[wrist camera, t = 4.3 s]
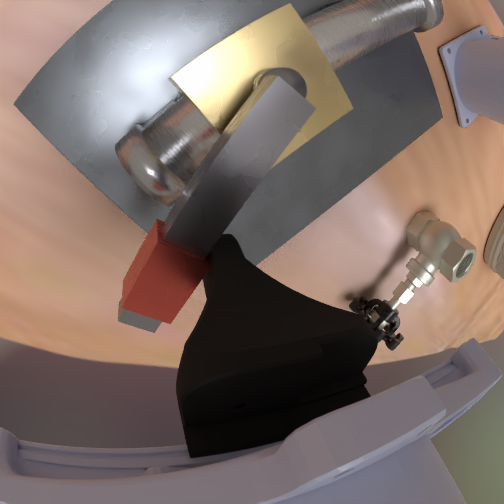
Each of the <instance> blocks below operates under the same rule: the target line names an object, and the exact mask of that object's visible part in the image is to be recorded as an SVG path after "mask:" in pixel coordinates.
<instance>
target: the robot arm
mask: <svg viewBox="0 0 504 504" xmlns="http://www.w3.org/2000/svg"><path fill="white" fill-rule="evenodd" d="M439 52H440V55H441V58H442V61H443V64H444V67H445V70H446V74H447V77H448V80H449V84H450V87H451V91H452V95H453V98H454V102H455V106H456V111H457V115H458V120H459V124H460V126H461V127H463V128H465V127H467V126H468V125H469V124H470V123H471V122H472V121H473V120H474V119H475V118H476V117H477V116H478V115H481V116H484V117H487V118H489V119H492V120H494V121H497V122H499V123H501V124H504V38H503V37H498V36H493V35H488V32H487V29H486V27H485V26H482V25H481V26H479V27H477V28H475V29H473V30H471V31H469V32H467V33H465V34H463V35H461V36H460V37H458V38H456V39H454V40H452V41H450V42H449V43H447V44H445V45H443V46H442V47H440V50H439ZM208 255H209V258H210V262H211V265H212V266H211V268H210V269H209V270H208V272H207V273H206V274H205V276H204V277H203V282H204V288H205V293H206V298H207V301H206V304H205V306H204V309H203V311H202V313H201V315H200V317H199V320H198V322H197V324H196V326H195V328H194V329H193V331H192V333H191V334H190V336H189V338H188V339H187V341H186V343H185V345H184V350H183V354H182V357H181V361H180V365H179V369H178V374H177V381H176V394H177V399H178V405H179V410H180V415H181V420H182V424H183V429H184V434H185V439H186V444H187V445H179V446H168V447H154V448H129V449H105V448H81V447H67V446H57V445H48V444H41V443H34V442H28V441H22V440H17V438H16V437H15V436H14V435H13V434H11V433H10V432H9V431H7V430H5V429H3V428H1V427H0V504H467V503H466V502H465V500H464V498H463V496H462V494H461V493H460V491H459V489H458V487H457V485H456V484H455V482H454V480H453V478H452V476H451V475H450V473H449V471H448V469H447V468H446V466H445V464H444V462H443V461H442V459H441V458H440V456H439V454H438V452H437V451H436V449H435V447H434V446H433V444H432V442H431V441H430V438H432V437H433V436H434V435H436V434H437V433H439V432H440V431H441V430H443V429H444V428H445V427H446V426H448V425H449V424H450V423H452V422H453V421H454V420H455V419H457V418H458V417H459V416H461V415H462V414H463V413H464V412H466V411H467V410H468V409H469V408H470V407H471V406H473V405H474V404H475V403H476V402H477V401H478V400H479V399H480V398H481V397H482V396H483V395H484V394H485V393H486V392H487V391H488V390H489V389H490V388H491V387H492V386H493V385H494V384H495V383H496V382H497V381H498V380H499V379H500V378H501V377H502V375H503V374H502V372H501V371H500V370H499V368H498V367H497V366H496V364H495V363H494V362H493V360H492V359H491V358H490V357H489V355H488V354H487V353H486V352H485V350H484V349H483V348H482V347H481V346H480V345H479V343H478V342H477V341H476V340H475V338H472V339H470V340H469V341H467V342H465V343H463V344H462V345H461V346H460V347H458V348H457V350H456V351H455V352H454V353H453V355H452V356H451V358H450V359H449V360H447V361H445V362H443V363H441V364H440V365H438V366H436V367H434V368H432V369H430V370H429V371H427V372H425V373H423V374H421V375H419V376H417V377H415V378H412V379H410V380H407V381H405V382H403V383H401V384H399V385H397V386H395V387H392V388H390V389H388V390H386V391H383V392H381V393H379V394H376V395H374V396H370V394H369V393H368V391H367V389H366V388H365V386H364V384H366V382H367V379H366V377H365V376H364V374H363V372H362V371H363V370H364V369H365V367H366V366H367V364H368V363H369V361H370V360H371V358H372V356H373V355H374V353H375V351H376V349H377V345H378V338H377V335H376V334H375V332H374V331H373V329H372V328H371V327H370V325H369V324H368V323H367V321H366V320H365V318H364V317H363V316H362V315H360V314H357V313H353V312H349V311H346V310H342V309H339V308H335V307H332V306H330V305H327V304H324V303H321V302H319V301H316V300H314V299H312V298H309V297H307V296H305V295H303V294H301V293H299V292H296V291H294V290H292V289H290V288H289V287H287V286H285V285H283V284H282V283H280V282H278V281H277V280H275V279H273V278H272V277H270V276H269V275H267V274H266V273H264V272H263V271H262V270H260V269H259V268H257V267H256V266H255V265H253V264H252V263H251V262H250V261H248V260H247V259H246V258H245V256H244V254H243V251H242V249H241V247H240V245H239V243H238V241H237V240H236V238H235V237H234V236H233V235H232V234H222V235H221V237H220V238H219V240H218V241H217V242H216V244H215V245H214V247H213V248H212V249H211V251H210V252H209V254H208Z"/></svg>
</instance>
